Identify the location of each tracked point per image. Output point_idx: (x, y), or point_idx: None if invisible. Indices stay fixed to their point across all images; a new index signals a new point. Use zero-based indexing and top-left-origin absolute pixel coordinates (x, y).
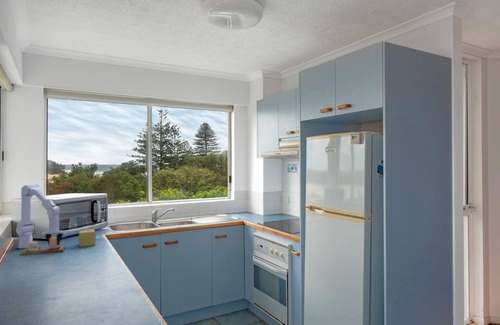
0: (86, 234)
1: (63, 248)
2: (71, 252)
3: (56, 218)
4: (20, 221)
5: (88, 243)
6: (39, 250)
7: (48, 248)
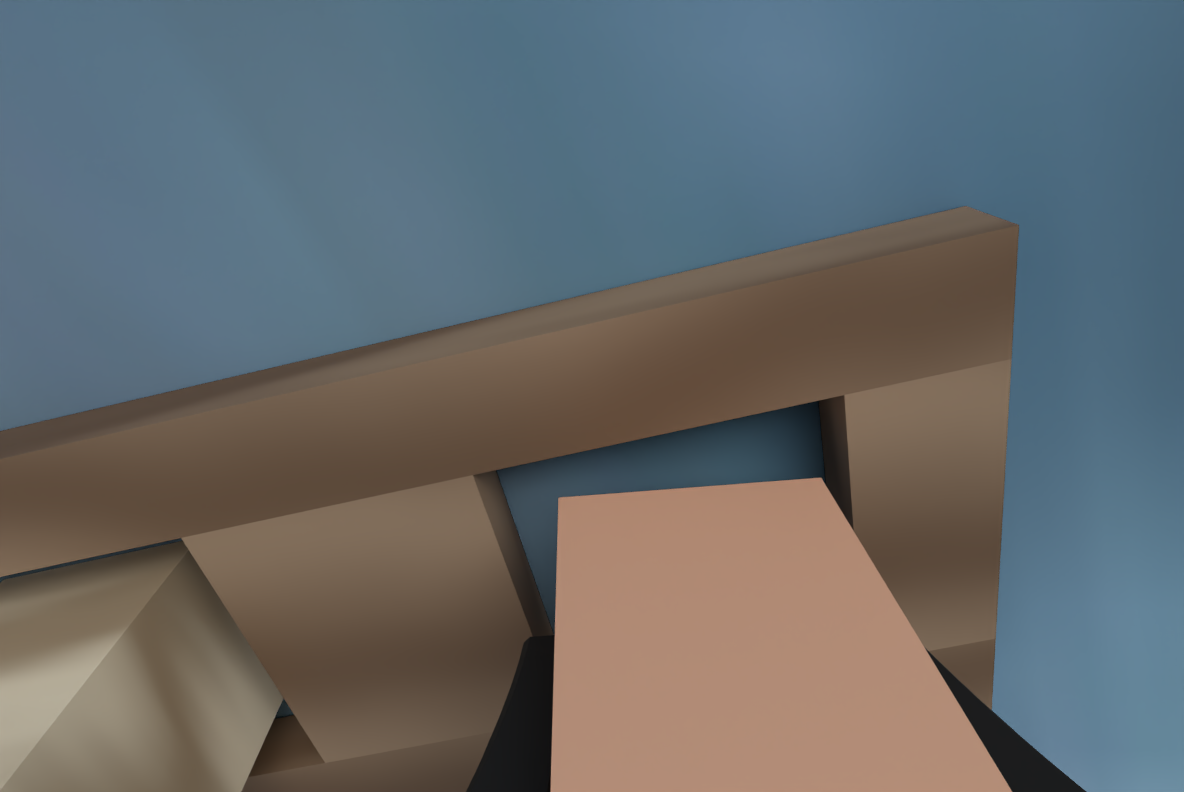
0: None
1: (996, 614)
2: (1178, 706)
3: None
4: None
5: None
6: (358, 752)
7: (497, 583)
